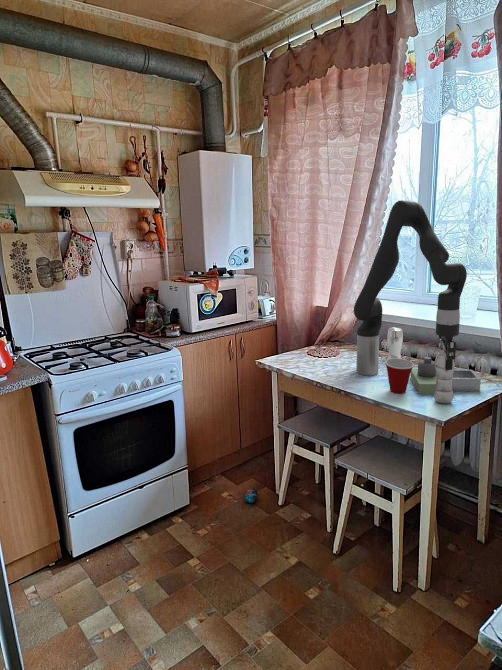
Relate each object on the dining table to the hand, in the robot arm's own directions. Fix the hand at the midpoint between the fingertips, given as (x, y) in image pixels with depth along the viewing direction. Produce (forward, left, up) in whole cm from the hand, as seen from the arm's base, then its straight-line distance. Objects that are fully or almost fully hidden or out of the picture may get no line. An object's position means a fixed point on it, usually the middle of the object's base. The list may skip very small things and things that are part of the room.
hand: (445, 365), depth 164 cm
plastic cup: (-14, +10, -14) cm, 23 cm away
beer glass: (-10, +52, -14) cm, 55 cm away
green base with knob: (-1, +17, -14) cm, 22 cm away
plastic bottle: (0, 0, -14) cm, 14 cm away
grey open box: (+10, +17, -14) cm, 24 cm away
